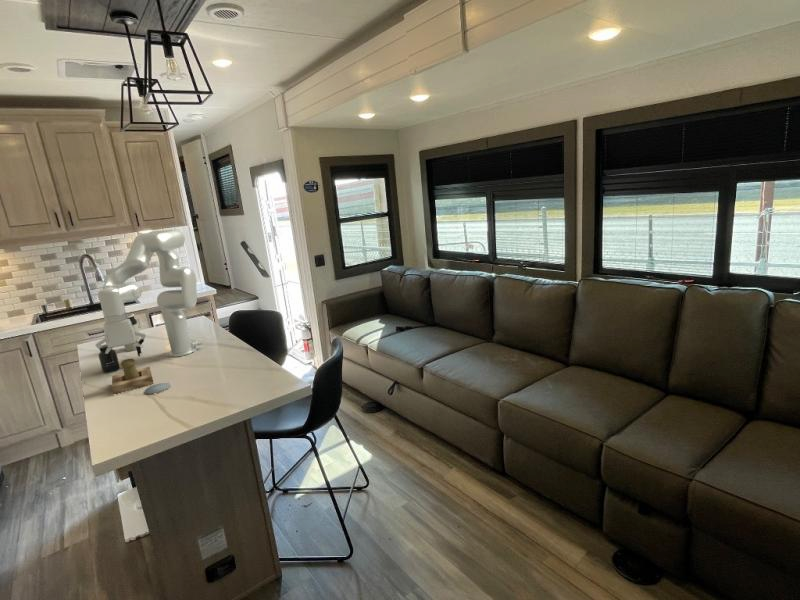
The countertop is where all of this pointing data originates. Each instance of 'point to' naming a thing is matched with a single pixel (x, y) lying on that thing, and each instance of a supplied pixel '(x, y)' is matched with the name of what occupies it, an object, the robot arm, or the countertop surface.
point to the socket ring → (132, 381)
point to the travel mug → (135, 327)
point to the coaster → (157, 388)
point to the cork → (129, 369)
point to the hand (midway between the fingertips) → (125, 358)
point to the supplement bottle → (106, 364)
